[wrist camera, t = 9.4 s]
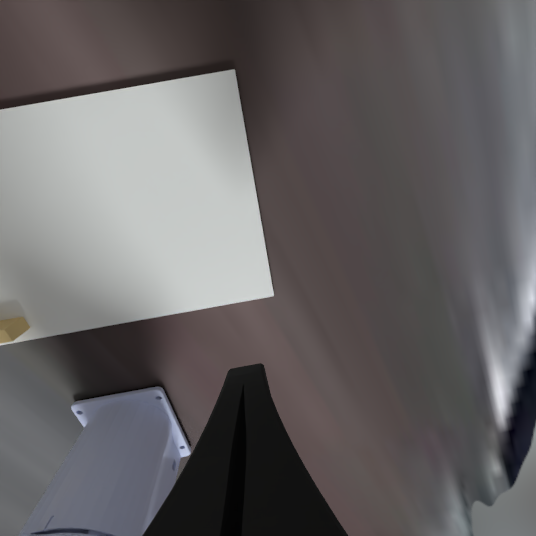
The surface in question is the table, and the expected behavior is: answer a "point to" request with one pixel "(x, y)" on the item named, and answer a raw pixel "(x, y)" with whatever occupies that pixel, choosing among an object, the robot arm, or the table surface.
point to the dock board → (127, 208)
